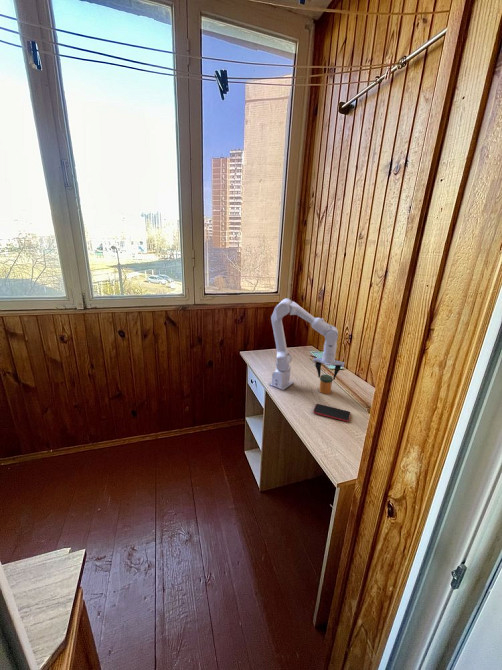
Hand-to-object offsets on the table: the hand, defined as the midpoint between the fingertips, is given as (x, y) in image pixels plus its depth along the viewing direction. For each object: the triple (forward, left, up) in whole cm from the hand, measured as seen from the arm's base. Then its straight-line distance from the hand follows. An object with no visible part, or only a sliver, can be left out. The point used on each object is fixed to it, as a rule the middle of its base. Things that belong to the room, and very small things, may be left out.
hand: (326, 377), depth 144 cm
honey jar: (0, 0, -7) cm, 7 cm away
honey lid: (0, 0, 0) cm, 0 cm away
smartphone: (-16, -11, -7) cm, 21 cm away
